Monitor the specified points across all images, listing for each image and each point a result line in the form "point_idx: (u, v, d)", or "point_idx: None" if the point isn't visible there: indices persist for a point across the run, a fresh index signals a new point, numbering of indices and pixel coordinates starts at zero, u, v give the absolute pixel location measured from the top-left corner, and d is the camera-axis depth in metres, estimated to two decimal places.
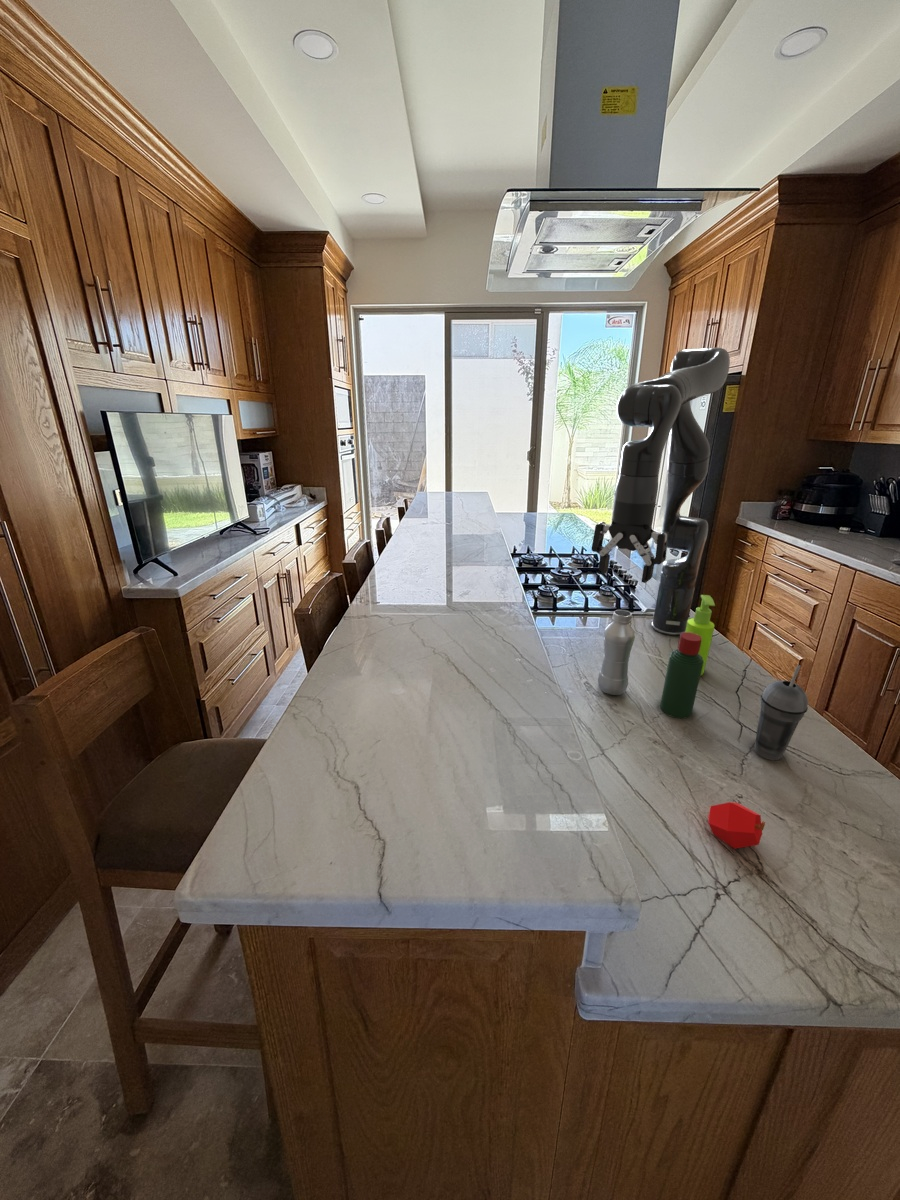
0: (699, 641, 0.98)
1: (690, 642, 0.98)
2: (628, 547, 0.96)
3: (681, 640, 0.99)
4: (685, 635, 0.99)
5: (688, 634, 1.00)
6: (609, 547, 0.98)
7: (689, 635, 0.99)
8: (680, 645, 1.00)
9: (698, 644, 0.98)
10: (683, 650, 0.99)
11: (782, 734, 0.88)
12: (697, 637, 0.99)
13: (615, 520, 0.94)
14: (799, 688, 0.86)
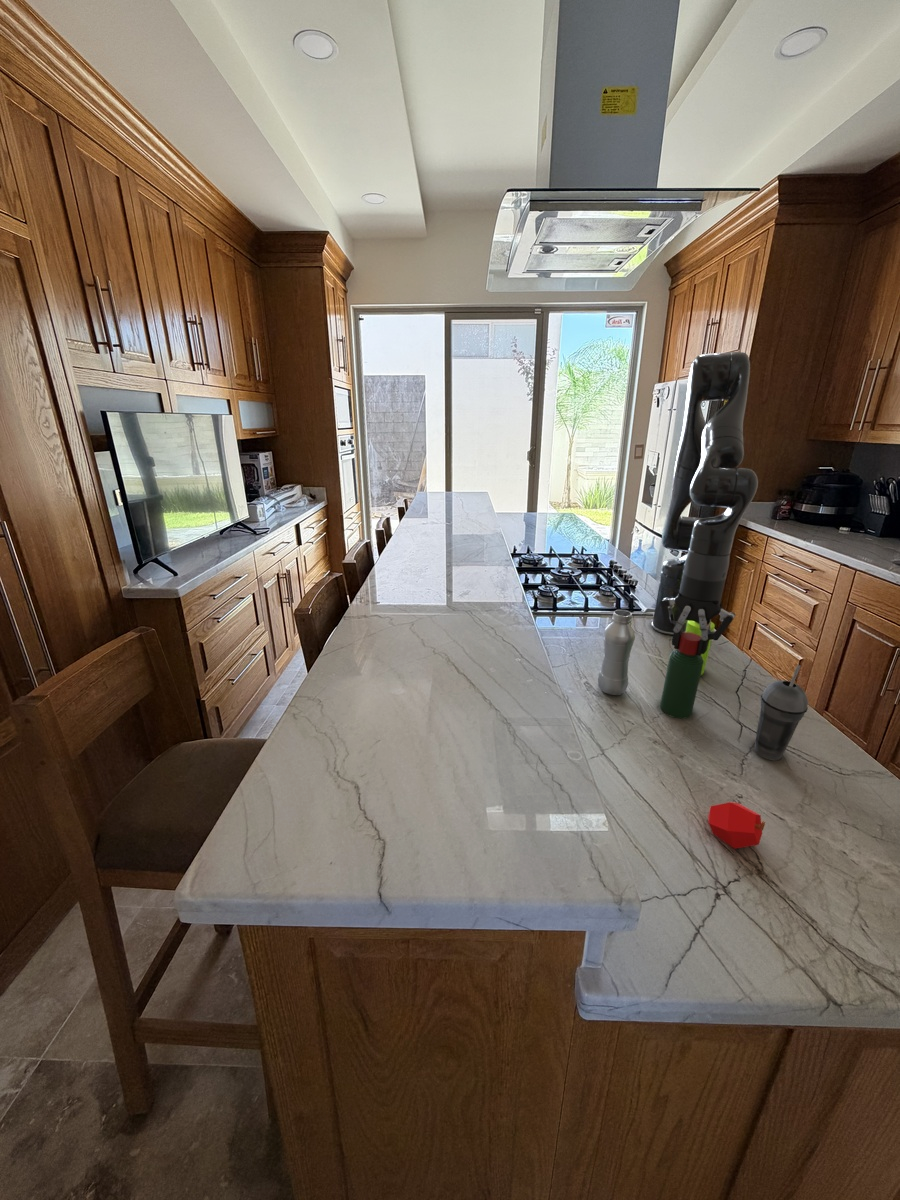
0: None
1: (690, 642, 0.98)
2: (695, 619, 0.96)
3: (681, 640, 0.99)
4: (685, 635, 0.99)
5: (688, 634, 1.00)
6: (681, 622, 0.98)
7: (689, 635, 0.99)
8: (680, 645, 1.00)
9: (698, 644, 0.98)
10: (683, 650, 0.99)
11: (782, 734, 0.88)
12: (697, 637, 0.99)
13: (684, 594, 0.94)
14: (799, 688, 0.86)
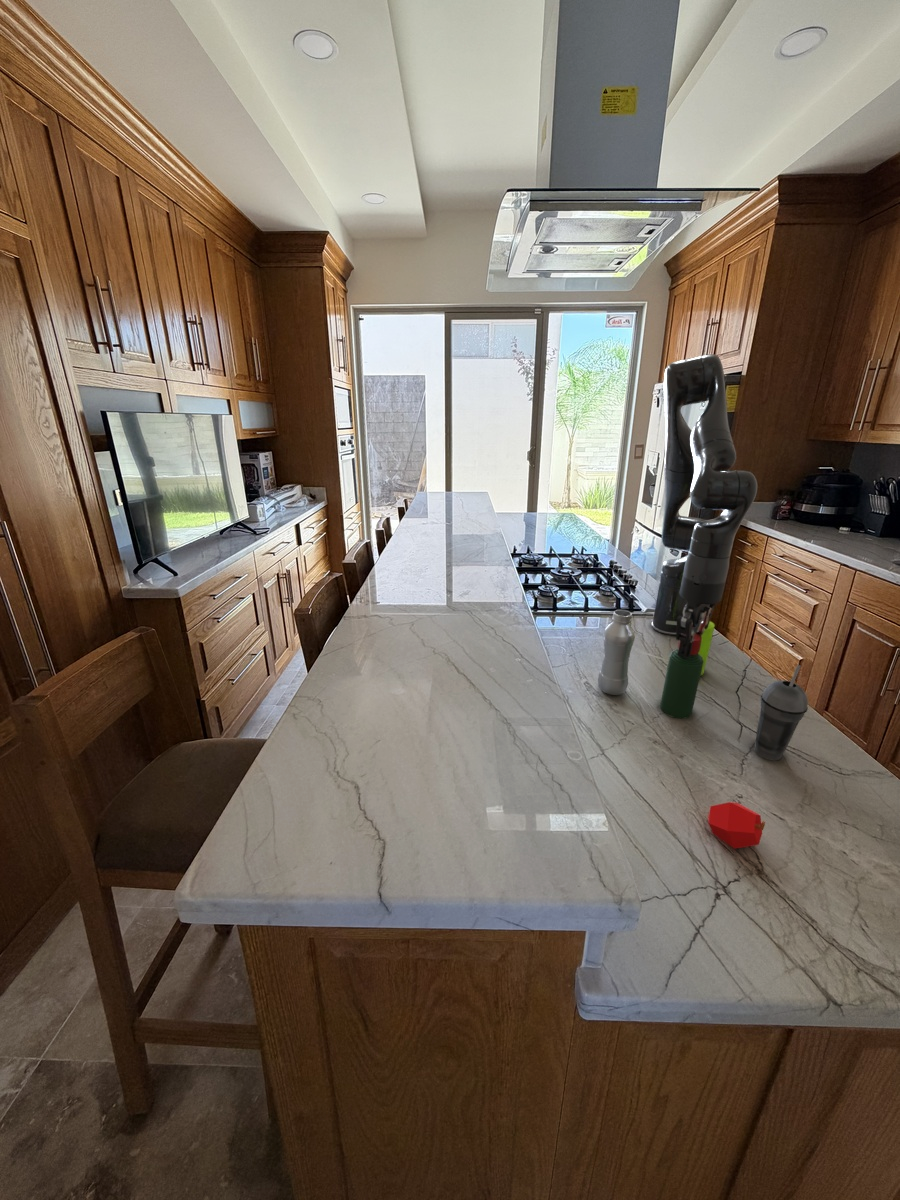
0: None
1: None
2: None
3: (694, 644, 0.98)
4: None
5: None
6: (698, 630, 0.96)
7: None
8: (693, 649, 0.98)
9: None
10: (697, 651, 0.98)
11: (782, 734, 0.88)
12: None
13: (712, 602, 0.92)
14: (799, 688, 0.86)
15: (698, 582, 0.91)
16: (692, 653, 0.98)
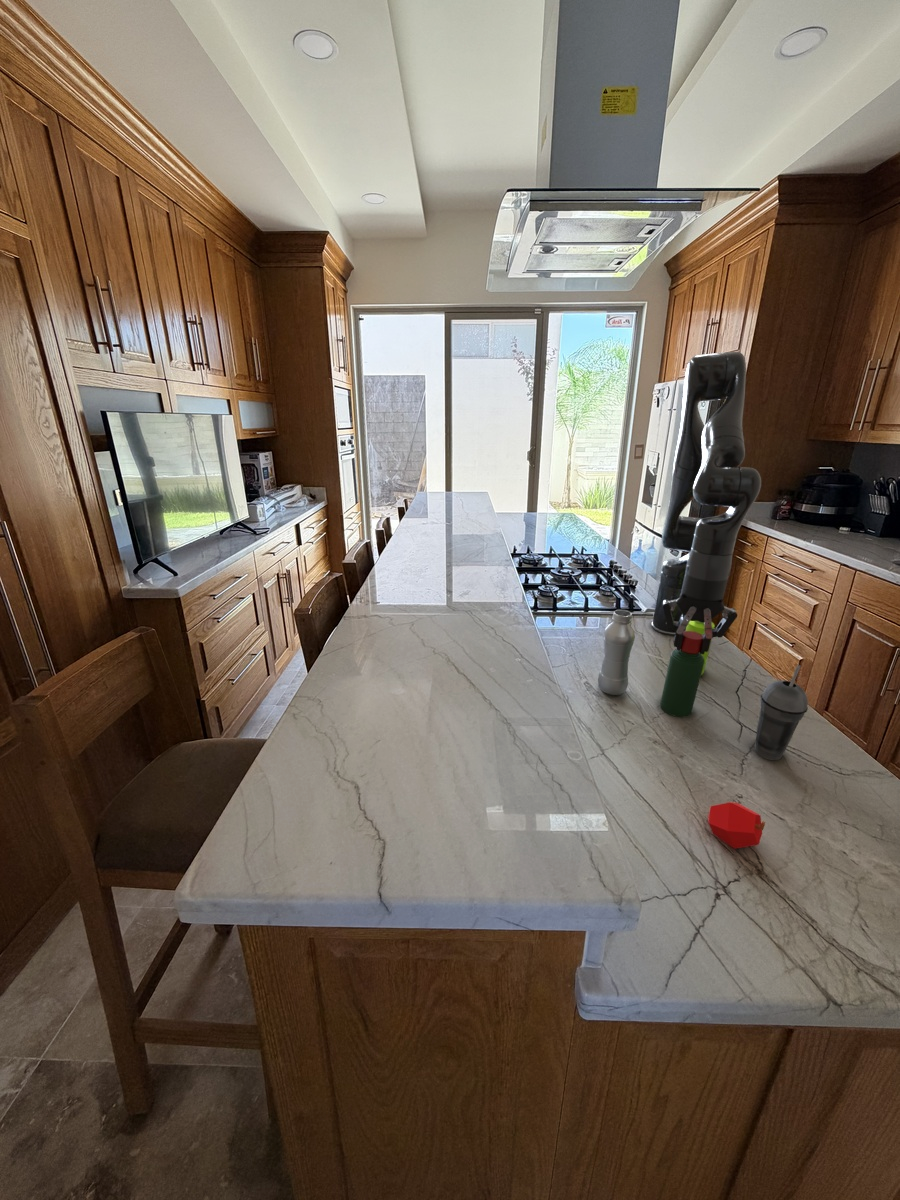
0: None
1: None
2: (699, 619, 0.96)
3: (699, 642, 0.98)
4: (693, 637, 0.98)
5: (689, 635, 0.99)
6: (686, 623, 0.97)
7: (691, 635, 0.99)
8: (698, 647, 0.98)
9: None
10: (700, 649, 0.99)
11: (782, 734, 0.88)
12: (691, 632, 1.00)
13: (691, 596, 0.93)
14: (799, 688, 0.86)
15: (685, 572, 0.95)
16: (696, 652, 0.99)
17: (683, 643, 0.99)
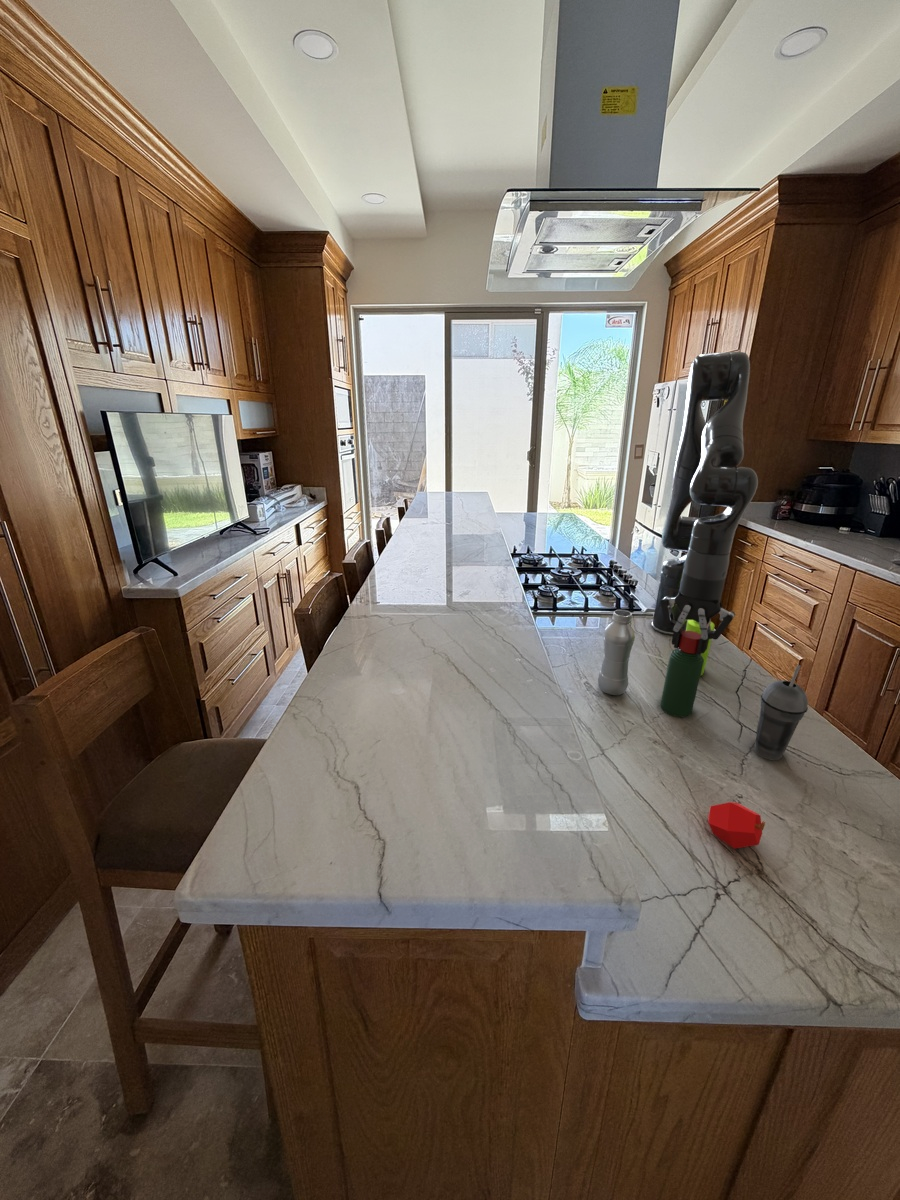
0: None
1: None
2: (695, 619, 0.96)
3: None
4: (697, 636, 0.99)
5: (693, 637, 0.98)
6: (681, 621, 0.98)
7: (692, 636, 0.99)
8: None
9: None
10: None
11: (782, 734, 0.88)
12: (685, 633, 1.00)
13: (684, 593, 0.94)
14: (799, 688, 0.86)
15: None
16: None
17: (693, 646, 0.98)
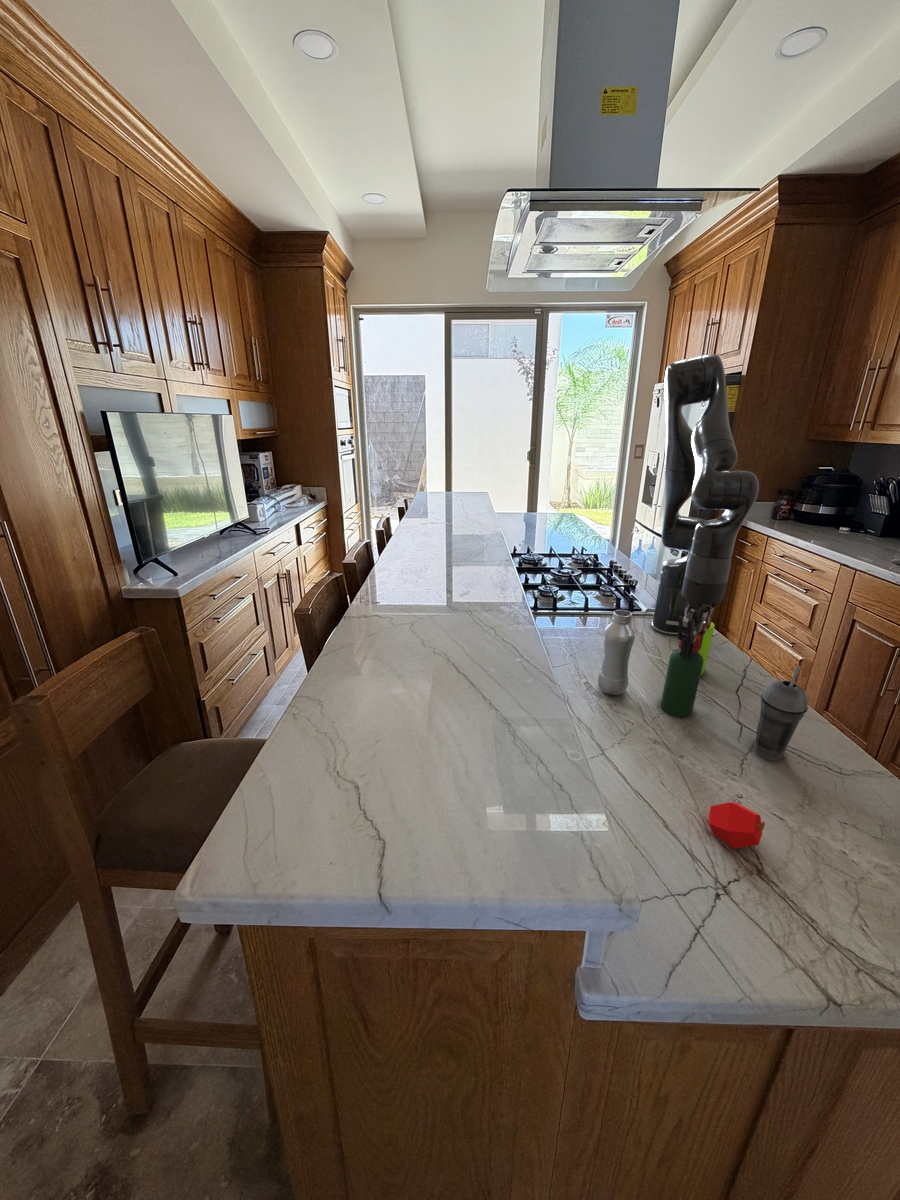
0: None
1: None
2: None
3: None
4: None
5: None
6: (700, 630, 0.96)
7: None
8: None
9: None
10: None
11: (782, 734, 0.88)
12: None
13: (714, 602, 0.92)
14: (799, 688, 0.86)
15: (700, 582, 0.91)
16: None
17: None
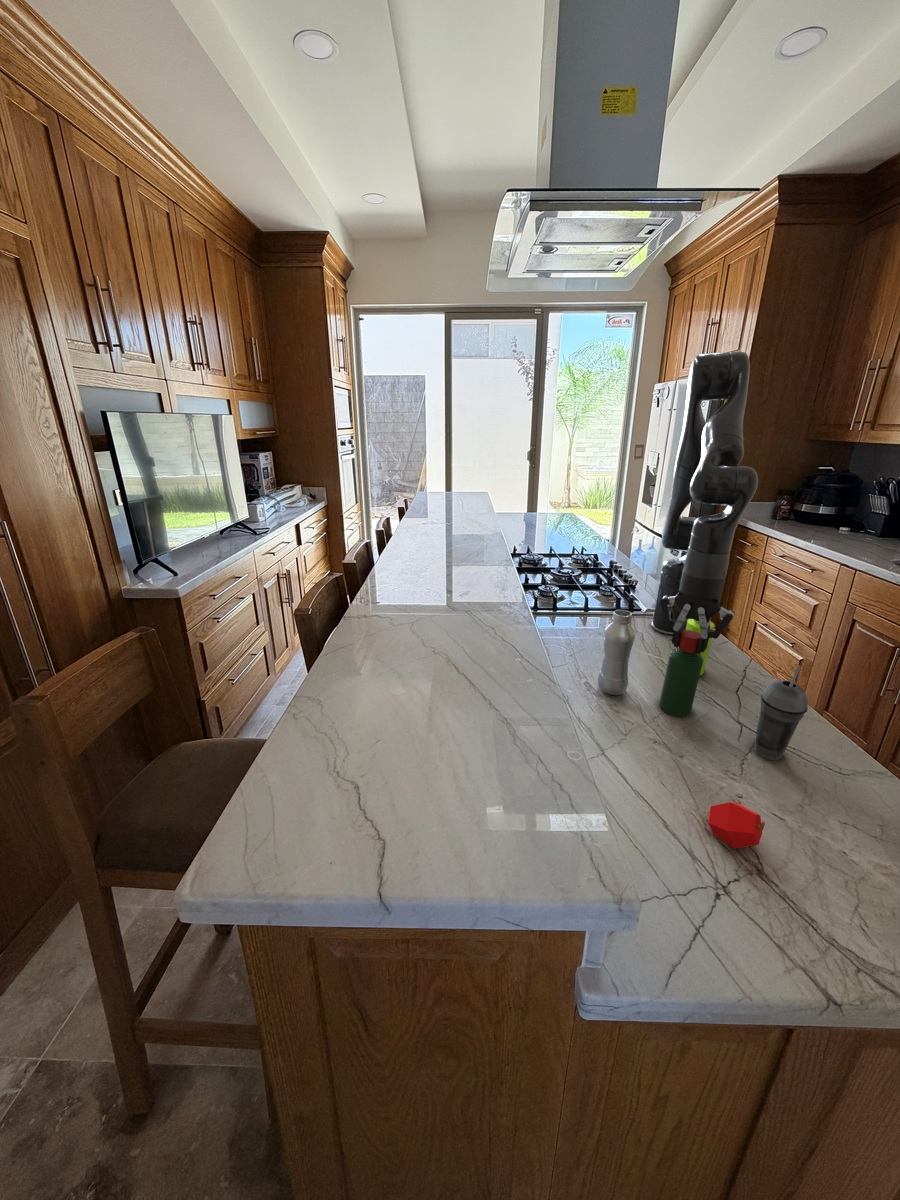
0: (696, 639, 0.98)
1: (686, 639, 0.98)
2: (695, 618, 0.96)
3: (680, 636, 1.00)
4: (686, 632, 1.00)
5: (690, 632, 1.00)
6: (681, 620, 0.98)
7: (690, 633, 1.00)
8: (679, 641, 1.00)
9: (695, 642, 0.98)
10: (680, 646, 1.00)
11: (782, 734, 0.88)
12: (697, 636, 0.98)
13: (684, 592, 0.94)
14: (799, 688, 0.86)
15: None
16: (678, 645, 1.01)
17: None
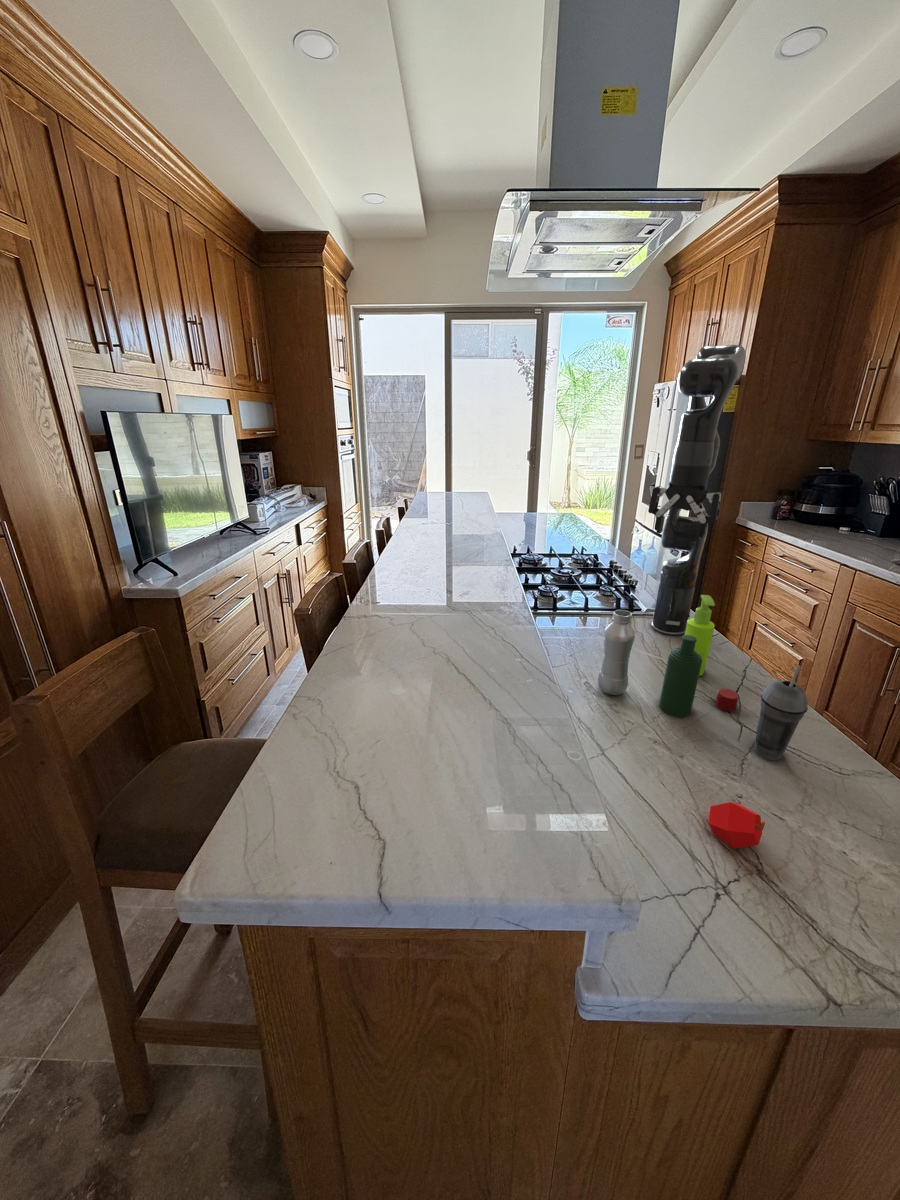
0: (734, 699, 1.04)
1: (724, 698, 1.05)
2: (684, 507, 1.06)
3: (718, 695, 1.07)
4: (723, 691, 1.07)
5: (727, 691, 1.07)
6: (666, 508, 1.08)
7: (727, 692, 1.06)
8: (716, 699, 1.07)
9: (732, 702, 1.04)
10: (718, 704, 1.06)
11: (782, 734, 0.88)
12: (734, 695, 1.05)
13: (673, 482, 1.04)
14: (799, 688, 0.86)
15: None
16: (715, 703, 1.08)
17: None
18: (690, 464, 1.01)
